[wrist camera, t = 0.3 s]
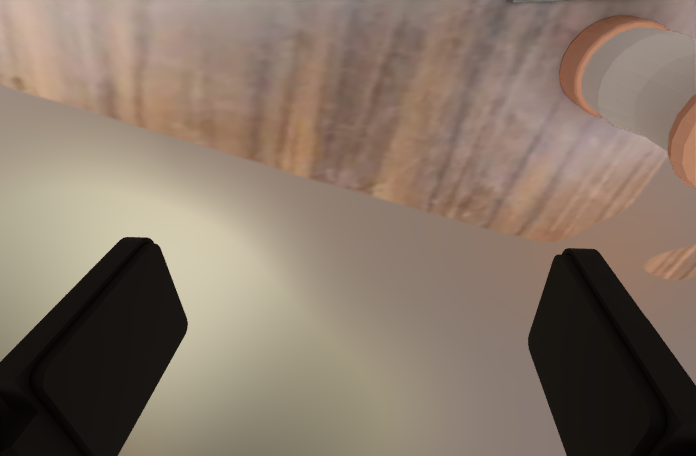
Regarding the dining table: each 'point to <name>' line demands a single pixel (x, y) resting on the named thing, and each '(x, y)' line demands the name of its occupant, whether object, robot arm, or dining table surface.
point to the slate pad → (530, 0)
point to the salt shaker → (638, 83)
